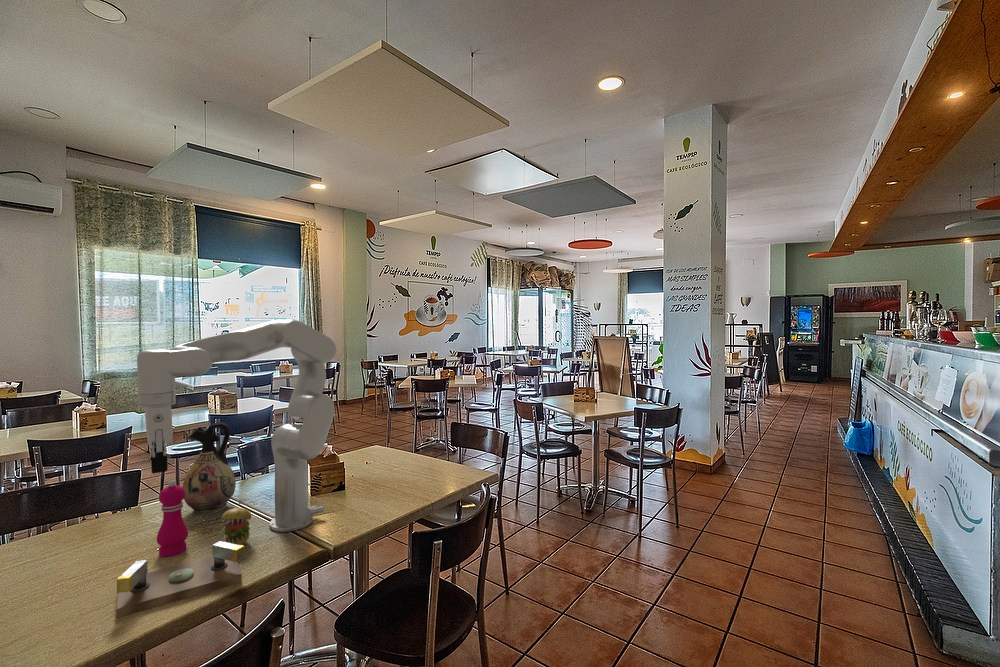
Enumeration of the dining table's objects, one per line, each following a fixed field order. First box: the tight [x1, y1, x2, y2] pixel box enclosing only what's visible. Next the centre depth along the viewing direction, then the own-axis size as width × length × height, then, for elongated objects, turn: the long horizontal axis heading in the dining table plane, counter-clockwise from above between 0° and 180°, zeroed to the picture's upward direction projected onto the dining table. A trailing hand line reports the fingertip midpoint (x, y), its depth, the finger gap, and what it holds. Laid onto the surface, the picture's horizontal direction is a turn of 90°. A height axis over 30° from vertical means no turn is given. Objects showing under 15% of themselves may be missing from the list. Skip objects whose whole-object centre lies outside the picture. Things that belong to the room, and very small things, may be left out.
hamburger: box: [220, 499, 252, 546], centre depth 136 cm, size 8×7×12 cm
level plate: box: [116, 556, 243, 619], centre depth 115 cm, size 24×14×3 cm, turn 127°
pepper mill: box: [156, 480, 189, 558], centre depth 131 cm, size 7×7×20 cm
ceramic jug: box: [182, 421, 237, 516], centre depth 160 cm, size 17×15×30 cm
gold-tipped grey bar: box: [211, 540, 245, 567], centre depth 119 cm, size 8×2×6 cm, turn 71°
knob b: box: [116, 559, 149, 594], centre depth 107 cm, size 8×2×6 cm, turn 12°
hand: (159, 471), depth 119 cm, fingers closed
